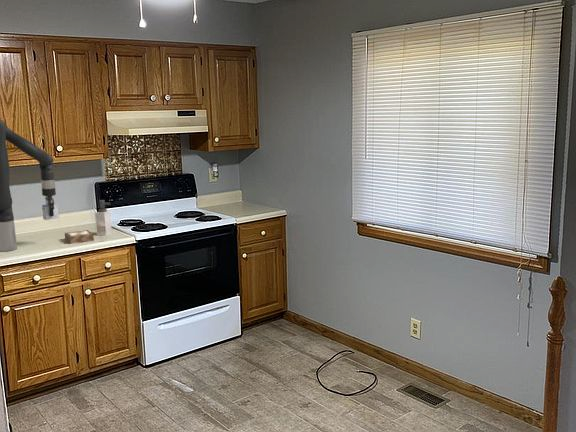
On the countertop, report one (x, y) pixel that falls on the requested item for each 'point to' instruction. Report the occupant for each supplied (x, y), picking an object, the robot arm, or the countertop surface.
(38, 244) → the countertop surface
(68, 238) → the walnut plinth
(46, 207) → the medicine box
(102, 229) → the soap dispenser
